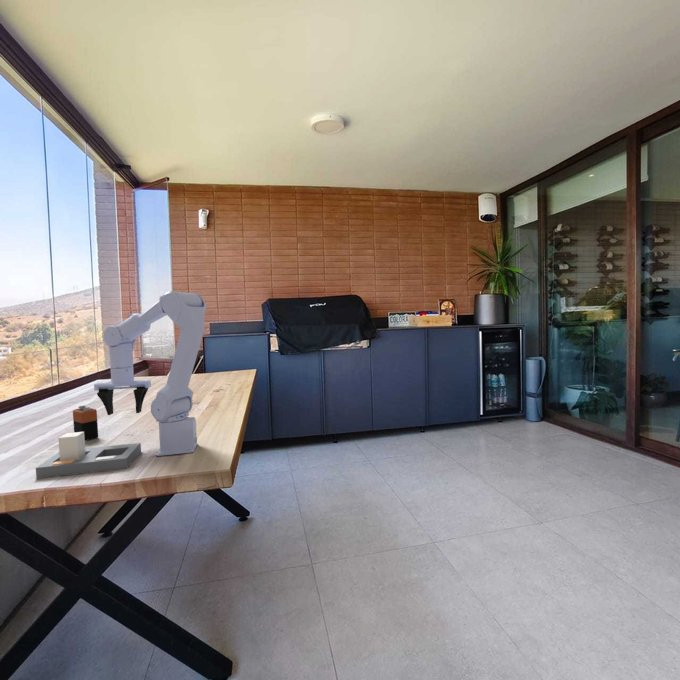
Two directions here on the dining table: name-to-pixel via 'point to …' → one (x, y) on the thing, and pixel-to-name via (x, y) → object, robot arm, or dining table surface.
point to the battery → (86, 422)
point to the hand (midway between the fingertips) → (124, 413)
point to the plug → (72, 446)
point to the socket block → (91, 461)
